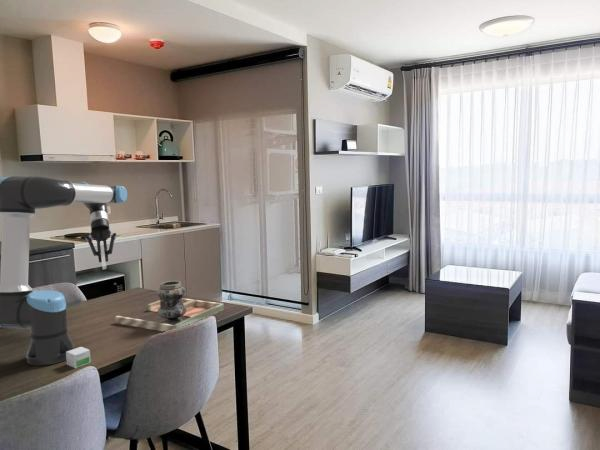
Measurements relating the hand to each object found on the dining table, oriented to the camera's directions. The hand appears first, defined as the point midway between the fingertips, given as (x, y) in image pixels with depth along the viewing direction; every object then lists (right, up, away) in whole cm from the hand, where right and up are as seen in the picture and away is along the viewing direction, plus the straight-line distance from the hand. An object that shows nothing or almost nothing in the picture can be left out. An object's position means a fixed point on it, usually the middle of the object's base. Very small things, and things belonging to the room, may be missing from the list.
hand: (104, 267), depth 197 cm
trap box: (+26, -23, +12) cm, 37 cm away
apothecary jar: (+29, -24, +2) cm, 38 cm away
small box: (+8, -30, -38) cm, 49 cm away
